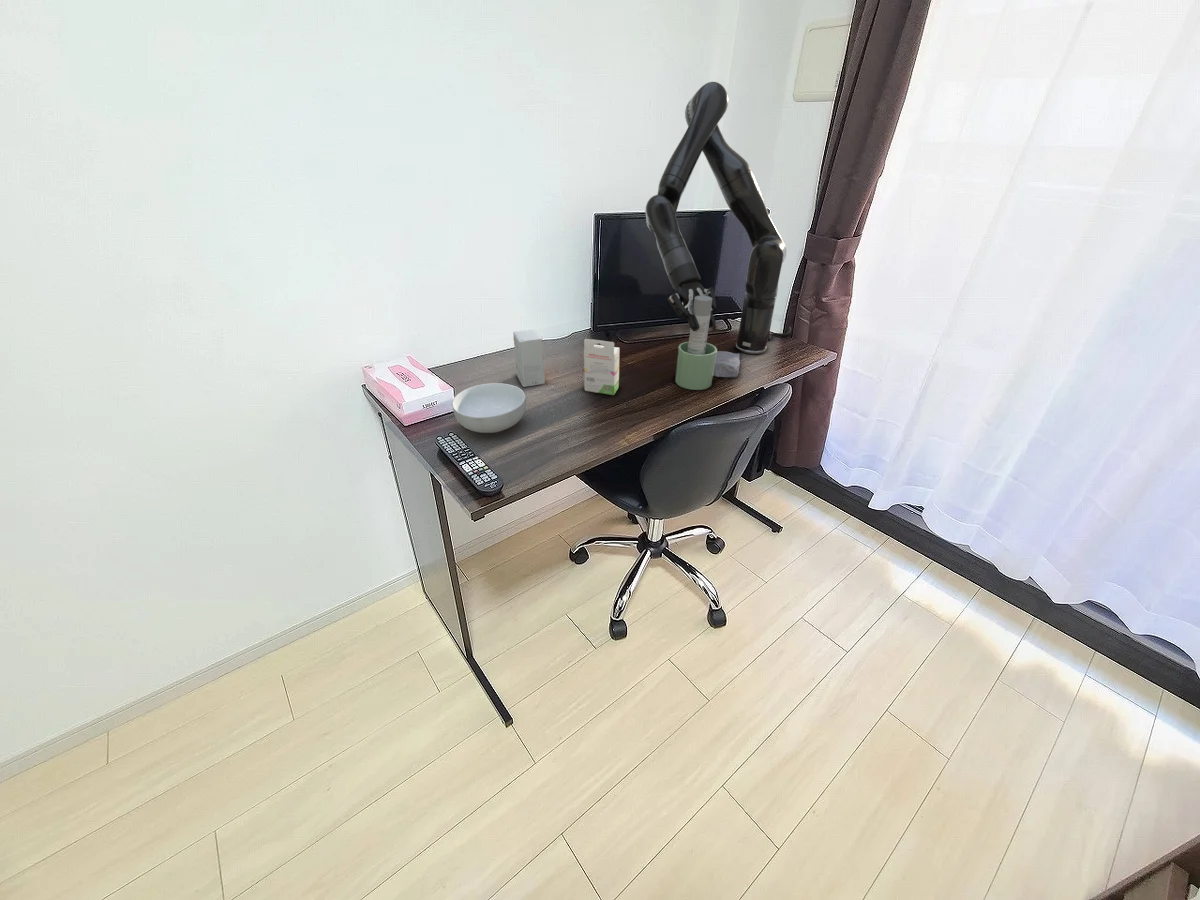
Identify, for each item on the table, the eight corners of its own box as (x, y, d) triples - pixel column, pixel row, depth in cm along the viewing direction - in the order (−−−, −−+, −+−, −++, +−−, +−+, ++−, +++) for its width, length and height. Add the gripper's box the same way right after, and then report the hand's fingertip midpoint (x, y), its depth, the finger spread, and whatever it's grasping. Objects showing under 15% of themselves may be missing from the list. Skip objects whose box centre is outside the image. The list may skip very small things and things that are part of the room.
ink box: (619, 388, 136) (621, 336, 127) (613, 396, 132) (615, 342, 123) (589, 383, 138) (589, 331, 130) (583, 390, 134) (582, 338, 126)
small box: (545, 384, 137) (542, 339, 130) (522, 387, 135) (518, 341, 128) (538, 372, 143) (535, 328, 136) (516, 375, 142) (512, 331, 134)
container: (696, 348, 138) (703, 294, 129) (708, 354, 134) (716, 299, 126) (683, 352, 135) (690, 297, 127) (695, 358, 132) (703, 302, 124)
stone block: (704, 381, 144) (740, 378, 141) (703, 365, 141) (740, 362, 139) (706, 366, 153) (739, 363, 151) (705, 351, 151) (739, 347, 148)
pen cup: (689, 371, 145) (693, 338, 140) (719, 382, 139) (724, 348, 134) (667, 381, 139) (670, 347, 134) (697, 393, 133) (702, 358, 128)
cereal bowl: (482, 402, 128) (479, 377, 124) (540, 415, 123) (538, 389, 119) (441, 434, 115) (436, 407, 111) (503, 450, 109) (500, 422, 106)
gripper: (694, 274, 138) (717, 330, 136) (652, 280, 131) (675, 339, 130) (710, 258, 131) (734, 317, 129) (665, 264, 125) (690, 325, 123)
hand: (704, 327), depth 129 cm, fingers closed on container, 4 cm apart
